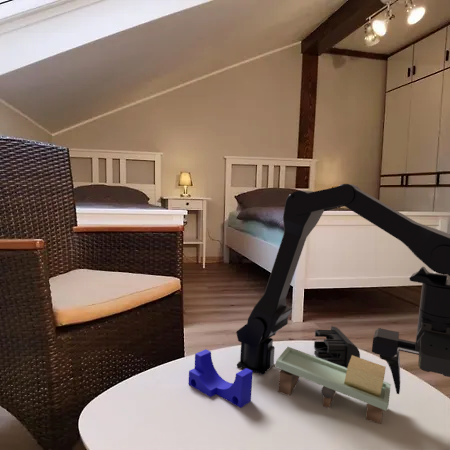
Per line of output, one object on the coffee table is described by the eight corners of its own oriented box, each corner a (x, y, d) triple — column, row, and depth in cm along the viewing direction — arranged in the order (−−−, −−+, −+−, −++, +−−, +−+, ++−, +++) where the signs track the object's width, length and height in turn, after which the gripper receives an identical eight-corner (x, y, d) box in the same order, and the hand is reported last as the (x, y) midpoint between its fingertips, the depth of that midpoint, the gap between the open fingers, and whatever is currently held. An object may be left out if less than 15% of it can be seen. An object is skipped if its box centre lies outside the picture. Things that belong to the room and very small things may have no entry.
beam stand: (277, 393, 70) (278, 373, 70) (288, 377, 77) (289, 358, 76) (380, 425, 62) (382, 403, 62) (383, 404, 68) (385, 384, 68)
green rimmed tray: (274, 370, 70) (276, 360, 70) (286, 355, 77) (287, 346, 76) (386, 414, 61) (388, 403, 61) (388, 393, 68) (390, 384, 68)
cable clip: (188, 385, 72) (189, 356, 71) (204, 377, 75) (205, 349, 75) (235, 412, 64) (237, 379, 63) (250, 401, 67) (252, 370, 67)
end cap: (358, 373, 80) (361, 343, 79) (327, 373, 79) (329, 343, 78) (341, 352, 90) (343, 326, 89) (312, 352, 89) (315, 325, 88)
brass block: (343, 386, 66) (347, 365, 65) (347, 374, 70) (351, 355, 69) (378, 399, 63) (383, 378, 62) (381, 386, 67) (385, 366, 67)
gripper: (373, 314, 57) (363, 408, 59) (523, 343, 49) (507, 452, 50) (379, 296, 67) (370, 377, 69) (504, 318, 59) (491, 409, 60)
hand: (428, 401), depth 62 cm, fingers open, 9 cm apart
